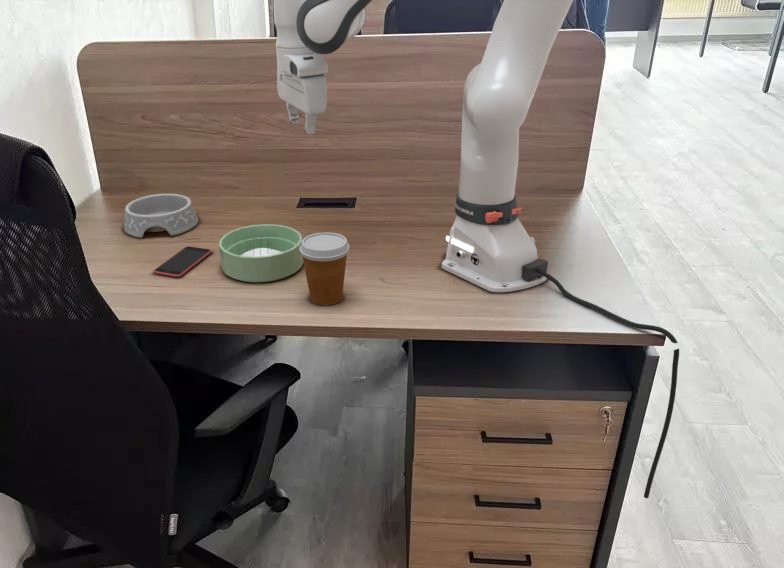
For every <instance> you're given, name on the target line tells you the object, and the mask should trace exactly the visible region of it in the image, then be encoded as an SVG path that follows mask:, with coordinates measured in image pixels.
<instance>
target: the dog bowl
mask: <svg viewBox="0 0 784 568" xmlns="http://www.w3.org/2000/svg"><path fill="white" fill-rule="evenodd" d="M198 223H199V217H198V215H197V213H196V210H195V208H194V205H193V201H192V200H191V199H190V197H188V196H186V195H183V194H177V193H157V194H156V193H155V194H150V195H146V196H141V197H139V198H136V199H134V200H132V201H130V202H129V203H127V204H126V206H125V208H124V224H123V230H124V232H125V233H126V234H127V235H129V236H131V237H135V238H143V237H144V235H145V234H144V233H145V232H150V233H156V232H158V233H159V232H165V231H166V232H167V233H168V235H170V236H177V235H180V234H184V233H186V232H188V231H190V230H192V229H193V228H195V227H196V226H197V225H198Z"/></svg>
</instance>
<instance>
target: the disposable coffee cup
mask: <svg viewBox="0 0 784 568" xmlns="http://www.w3.org/2000/svg"><path fill="white" fill-rule="evenodd" d="M350 247H351V245H350V244H349V243H348V240H347V238H346V236H344V235H342V234H340V233H336V232H327V231H326V232H323V231H322V232H316V233H312V234H308V235H307V236H305V237H303V238H302V243H301V246H300V248H299V249H300V252H301V255H302V256H303V261H304V263H303V266H304V267H303V268H304V272H305V278H306V282H307V287H308V292H309V299H310V301H311V302H312V303H314V304H316V305H320V306H331V305H334V304H338V303H339V302H341V301H342V299H343V294H344V285H345V284H344V283H345V275H346V266H347V259H348V258H347V257H348V253H349V251H350Z"/></svg>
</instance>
